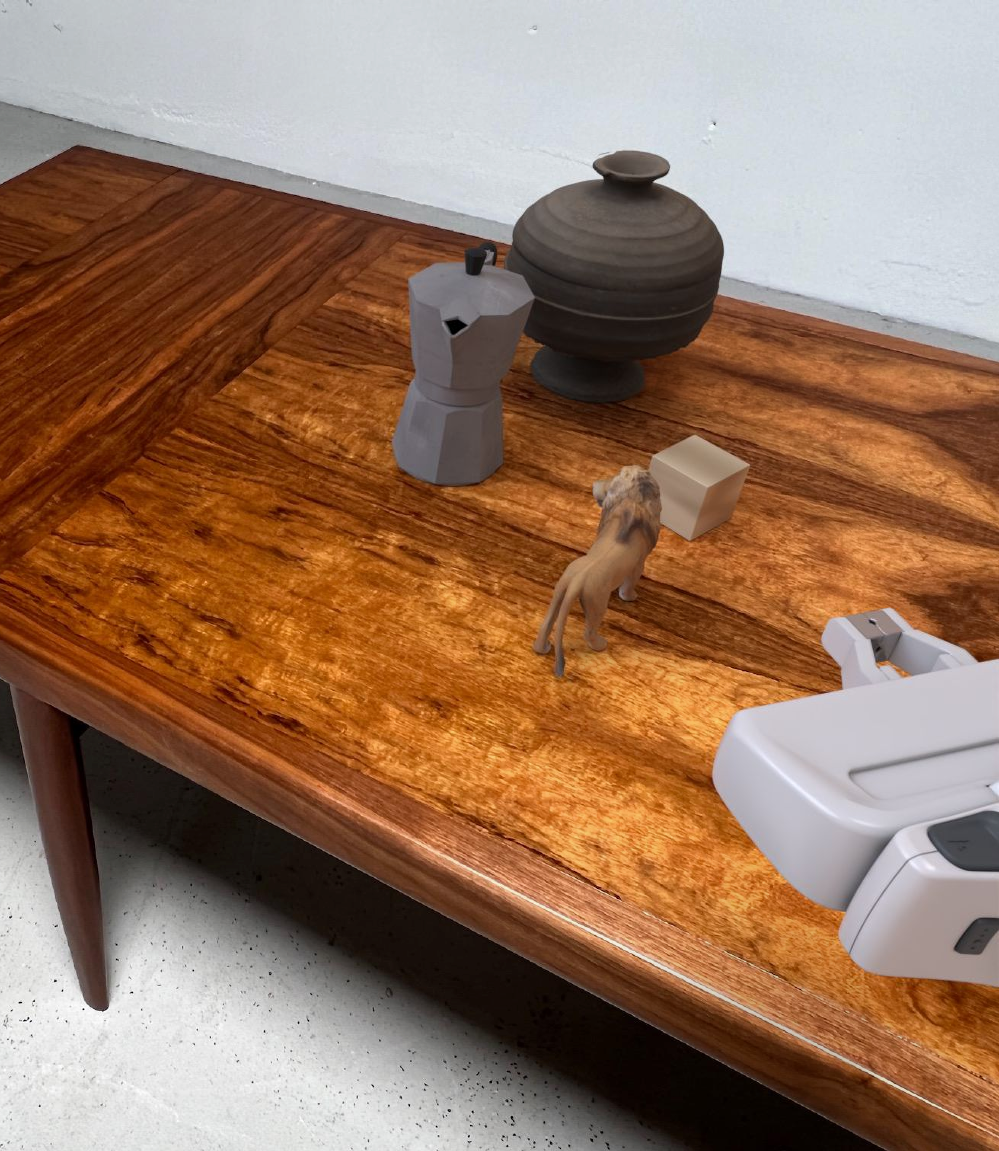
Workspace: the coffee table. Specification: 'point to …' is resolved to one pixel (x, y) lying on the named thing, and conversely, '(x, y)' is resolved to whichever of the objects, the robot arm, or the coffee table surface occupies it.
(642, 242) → the pot
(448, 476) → the coffeepot
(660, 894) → the coffee table surface
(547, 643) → the lion figurine
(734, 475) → the beige block
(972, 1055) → the coffee table surface
